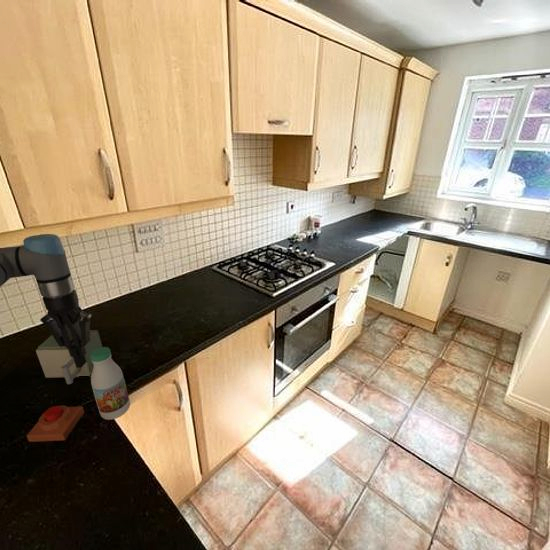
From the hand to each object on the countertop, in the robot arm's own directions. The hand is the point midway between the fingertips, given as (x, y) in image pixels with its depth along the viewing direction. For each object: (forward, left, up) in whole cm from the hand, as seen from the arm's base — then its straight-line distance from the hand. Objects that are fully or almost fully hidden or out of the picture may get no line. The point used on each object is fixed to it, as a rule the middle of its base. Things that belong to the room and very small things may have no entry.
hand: (81, 364), depth 89 cm
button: (-2, -13, -6) cm, 14 cm away
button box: (-2, -13, -10) cm, 16 cm away
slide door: (-10, +3, -9) cm, 13 cm away
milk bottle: (+11, -8, -10) cm, 17 cm away
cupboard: (-10, +11, -10) cm, 18 cm away
